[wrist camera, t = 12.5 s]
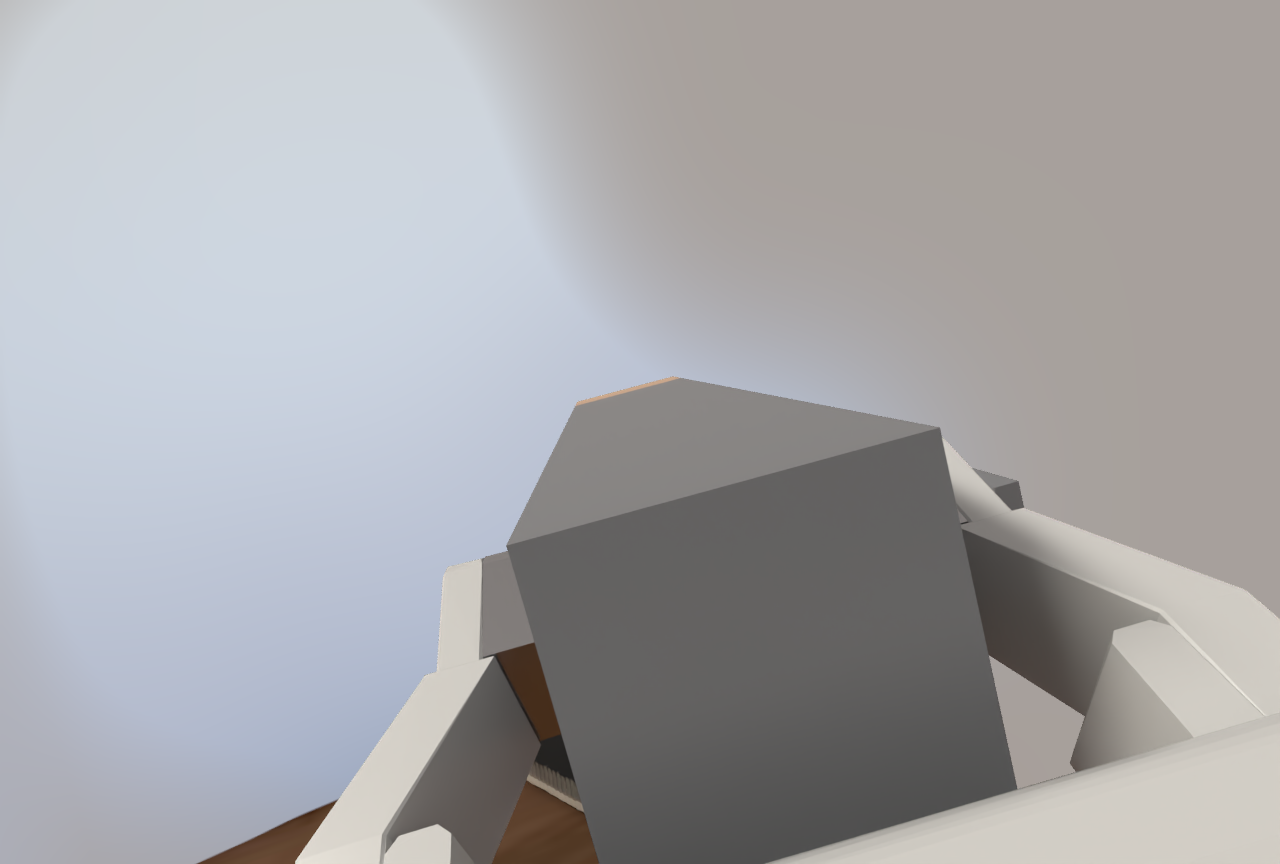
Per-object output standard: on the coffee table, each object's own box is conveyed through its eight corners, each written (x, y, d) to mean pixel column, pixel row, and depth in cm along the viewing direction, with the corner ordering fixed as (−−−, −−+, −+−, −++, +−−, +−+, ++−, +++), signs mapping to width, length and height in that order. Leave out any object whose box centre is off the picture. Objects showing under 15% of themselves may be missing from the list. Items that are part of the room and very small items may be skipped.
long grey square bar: (623, 946, 6) (505, 545, 6) (603, 496, 26) (577, 401, 25) (1026, 827, 6) (939, 428, 6) (697, 470, 26) (672, 376, 26)
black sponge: (507, 779, 65) (496, 743, 65) (578, 729, 70) (568, 696, 70) (613, 844, 53) (600, 800, 52) (690, 778, 58) (679, 738, 57)
